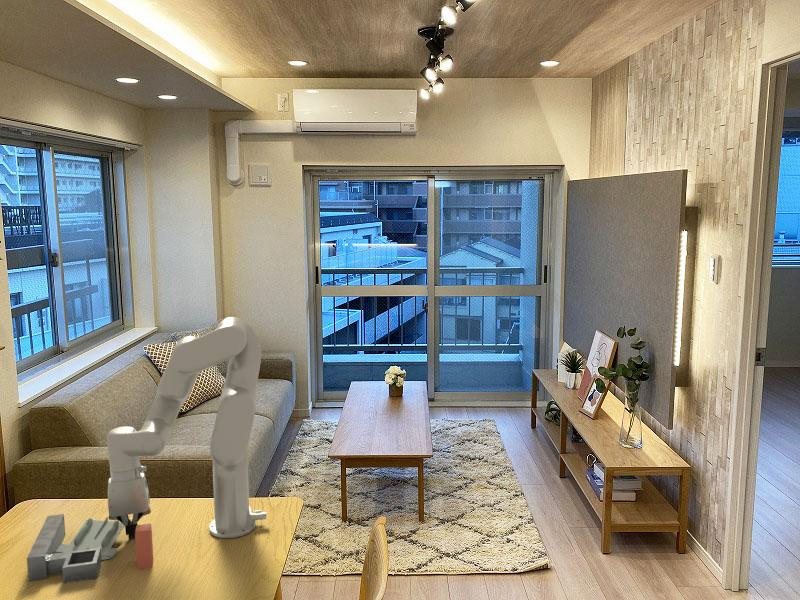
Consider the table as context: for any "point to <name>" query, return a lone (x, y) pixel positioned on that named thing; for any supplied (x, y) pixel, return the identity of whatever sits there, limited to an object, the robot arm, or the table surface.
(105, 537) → the metal bracket
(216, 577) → the table surface
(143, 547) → the red rectangular block
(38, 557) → the grey socket fixture
